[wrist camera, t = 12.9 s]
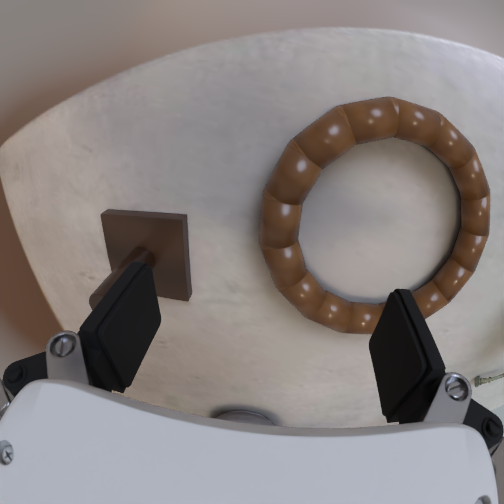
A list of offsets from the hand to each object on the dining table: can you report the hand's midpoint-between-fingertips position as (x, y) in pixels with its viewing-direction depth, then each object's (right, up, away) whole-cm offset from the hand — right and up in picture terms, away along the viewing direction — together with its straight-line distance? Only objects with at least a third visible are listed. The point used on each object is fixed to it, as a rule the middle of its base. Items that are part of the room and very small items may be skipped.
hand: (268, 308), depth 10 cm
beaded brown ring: (+10, +3, +9) cm, 13 cm away
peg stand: (-10, +2, +14) cm, 17 cm away
